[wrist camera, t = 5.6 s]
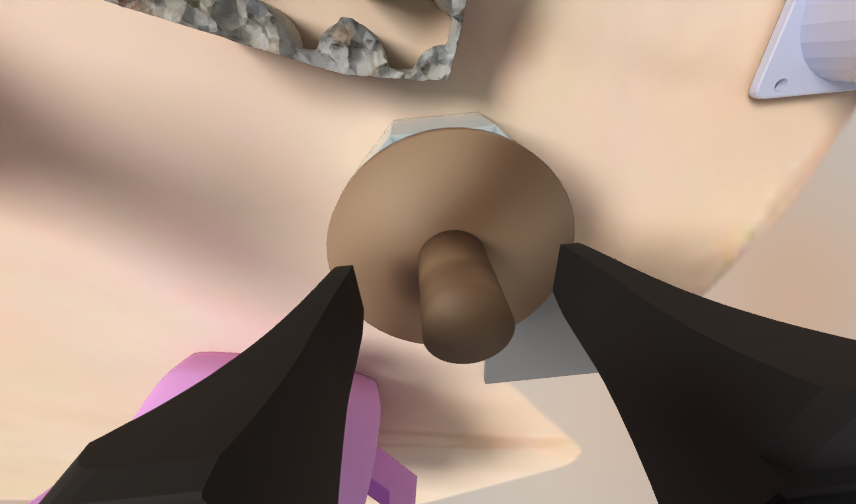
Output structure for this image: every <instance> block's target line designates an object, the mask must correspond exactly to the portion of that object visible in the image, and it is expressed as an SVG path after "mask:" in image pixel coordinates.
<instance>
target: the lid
mask: <svg viewBox="0 0 856 504" xmlns="http://www.w3.org/2000/svg"><path fill="white" fill-rule="evenodd" d="M573 242H574V218H573V212H572V207H571V204H570V201H569V199H568V196H567V193H566V191H565V189H564V188H563V186H562V184H561V182H560V180H559V179H558V178H557V176H556V175H555V174H554V173H553V171H552V170H551V169H550V168H549V167H548V166H547V165H546V164H545V163H544V162H543V161H542V160H541V159H539V158H538V157H537V156H536V155H535V154H533V153H532V152H530V151H529V150H527V149H526V148H524V147H523V146H521V145H520V144H518V143H517V142H515V141H513V140H511V139H508V138H506V137H504V136H502V135H499V134H496V133H493V132H489V131H485V130H482V129H474V128H466V127H448V128H439V129H432V130H426V131H423V132H419V133H416V134H413V135H410V136H407V137H405V138H403V139H400V140H398V141H396V142H394V143H392V144H390V145H388V146H387V147H385V148H384V149H382V150H381V151H379V152H378V153H376V154H375V155H374V156H373V157H371V158H370V159H369V160H368V161H367V162H366V163H364V164H363V165H362V166H361V167H360V169H359V170H358V171H357V172H356V173H355V174H354V176H353V177H352V178H351V179H350V181H349V183H348V184H347V186H346V187H345V189H344V190H343V192H342V194H341V196H340V198H339V200H338V202H337V205H336V207H335V209H334V211H333V214H332V217H331V221H330V224H329V228H328V236H327V258H328V263H329V268H330V271H331V270H332V269H334V268H335V267H337V266H347V265H353V267H354V271H355V275H356V279H357V283H358V287H359V291H360V295H361V299H362V303H363V307H364V320H365V321H366V322H367V323H369V324H370V325H372V326H374V327H375V328H377V329H378V330H380V331H382V332H385V333H387V334H389V335H391V336H394V337H397V338H399V339H402V340H406V341H410V342H415V343H421V344H424V345H425V347H426V348H427V350H428V351H429V352H430V353H431V354H432V355H434V356H435V357H437V358H439V359H441V360H443V361H446V362H450V363H456V364H469V363H476V362H480V361H483V360H486V359H488V358H491V357H493V356H495V355H496V354H498V353H499V352H501V351H502V350H503V349H504V348H505V347H506V346H507V345H508V344H509V342H510V341H511V339H512V337H513V335H514V332H515V325H516V324H518V323H519V322H521V321H522V320H524V319H525V318H527V317H528V316H529V315H531V314H532V313H533V312H534V311H535V310H536V309H538V308H539V307H540V306H541V305H542V304H543V303H544V302H545V301H546V299H547V298H548V297H549V296H550V295H551V293H552V292H553V291H552V290H553V284H554V278H555V273H556V267H557V261H558V255H559V249H560V244H570V243H573Z"/></svg>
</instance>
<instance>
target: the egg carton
mask: <svg viewBox="0 0 856 504" xmlns="http://www.w3.org/2000/svg"><path fill="white" fill-rule="evenodd" d="M105 1H108V2H111V3H114V4H117V5H119V6H121V7H125V8H130V9H133V10H136V11H140V12H143V13H146V14H149V15H153V16H156V17H159V18H162V19H166V20H168V21H171V22H175V23H179V24H182V25H185V26H188V27H191V28H194V29H198V30H201V31H205V32H208V33H212V34H215V35H218V36H222V37H225V38H227V39H229V40H232V41H235V42H238V43H241V44H244V45H248V46H251V47H255V48H258V49H261V50H264V51H268V52H271V53H274V54H278V55H281V56H285V57H288V58H292V59H295V60H298V61H301V62H304V63H307V64H310V65H313V66H316V67H319V68H323V69H326V70H330V71H334V72H338V73H342V74H348V75H359V76H369V77H380V78H400V79H410V80H417V81H426V80H448V79H449V76H450V72H451V67H452V64H453V59H454V56H455V52H456V47H457V43H458V39H459V34H460V30H461V25H462V21H463V13H464V9H465V5H466V1H467V0H433V1H434V3H435V4H436V6H437V7H438V8H439V9H440V10H441V11H442V12H444V13H445V14H447V15H449V16H450V17H451V26H450V30H449V36H448V41H447V44H446V45H439V46H434V47H432V48H430V49H429V50H427V51H425V52H424V53H423V54H422V55H421V56H420V57H419V59H418V61H417V62H416V64H415V66H414V67H413V68H411V69H395V68H391V67H389V66H388V62H387V55H386V52H385V50H384V48H383V46H382V44H381V42H380V41H379V39H378V38H377V37H376V36H375V35H374V34H373V33H372V32H371V31H370V30H369V29H367V28H366V27H365V26H363V25H362V24H359V23H358V22H356V21H355V20H354V19H352V18H345V17H341V18H340V20H339V21H338V23H337V24H335V25H333V26H332V27H330V28H329V29H328V30H327V31H326V32H325V33H324V34H323V35H322V37H321V39H320V41H319V44H318V48H317V49H306V48H304V47H303V42H302V39H301V36H300V33H299V31H298V29H297V28H296V26H295V25H294V23H293V22H292V21H291V20H290V19H289V18H288V17H287V16H286V15H285V14H284V13H283V12H282V11H280V10H278V9H276V8H274V7H272V6H270V5H269V4H266V3H264V2H262V1H259V0H105Z"/></svg>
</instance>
